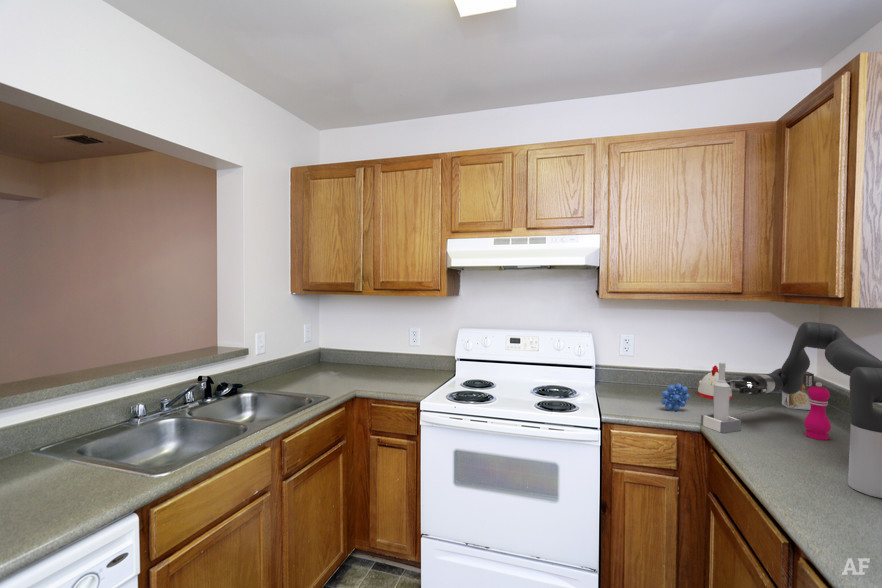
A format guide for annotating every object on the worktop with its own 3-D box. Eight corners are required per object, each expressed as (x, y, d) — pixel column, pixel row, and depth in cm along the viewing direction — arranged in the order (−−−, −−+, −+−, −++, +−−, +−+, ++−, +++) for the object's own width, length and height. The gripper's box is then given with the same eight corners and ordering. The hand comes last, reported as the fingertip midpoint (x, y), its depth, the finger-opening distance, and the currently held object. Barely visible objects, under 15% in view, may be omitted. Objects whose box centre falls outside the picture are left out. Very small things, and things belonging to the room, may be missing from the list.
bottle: (713, 424, 160) (714, 361, 159) (729, 427, 157) (731, 362, 156) (711, 428, 156) (713, 363, 155) (728, 431, 153) (730, 365, 152)
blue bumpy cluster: (684, 407, 181) (685, 381, 180) (692, 412, 174) (692, 385, 173) (656, 407, 182) (657, 380, 181) (663, 411, 175) (664, 384, 175)
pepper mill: (801, 436, 148) (803, 381, 147) (805, 431, 153) (807, 378, 152) (828, 442, 143) (831, 385, 142) (832, 437, 147) (834, 382, 147)
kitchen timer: (693, 395, 200) (694, 365, 199) (702, 390, 209) (703, 361, 209) (727, 402, 190) (728, 370, 189) (735, 396, 199) (736, 366, 198)
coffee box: (805, 406, 184) (806, 370, 183) (813, 410, 178) (815, 374, 177) (781, 404, 187) (782, 369, 186) (788, 408, 180) (789, 372, 180)
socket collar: (740, 430, 154) (741, 420, 153) (722, 433, 151) (723, 422, 151) (718, 422, 162) (718, 412, 162) (700, 424, 159) (701, 414, 159)
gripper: (739, 371, 169) (711, 374, 164) (778, 379, 156) (748, 382, 150) (739, 389, 169) (711, 392, 164) (777, 398, 156) (748, 402, 151)
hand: (729, 387), depth 157 cm, fingers open, 8 cm apart
